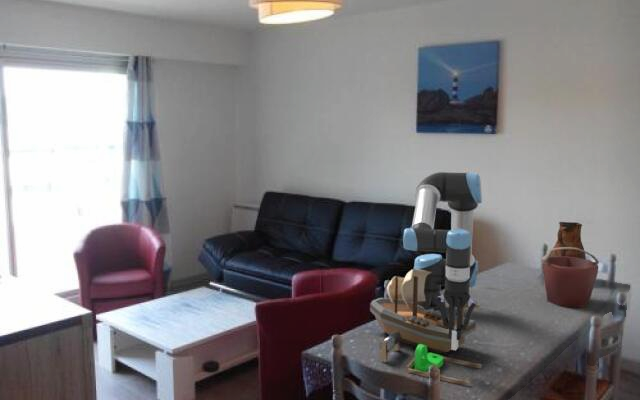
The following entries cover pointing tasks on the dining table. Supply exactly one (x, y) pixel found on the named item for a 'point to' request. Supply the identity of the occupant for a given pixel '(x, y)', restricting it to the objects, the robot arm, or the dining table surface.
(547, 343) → the dining table surface
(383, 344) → the winch
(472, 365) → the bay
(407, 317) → the sailing ship
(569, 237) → the pitcher
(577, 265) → the bucket
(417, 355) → the mechanical part
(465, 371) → the dining table surface
